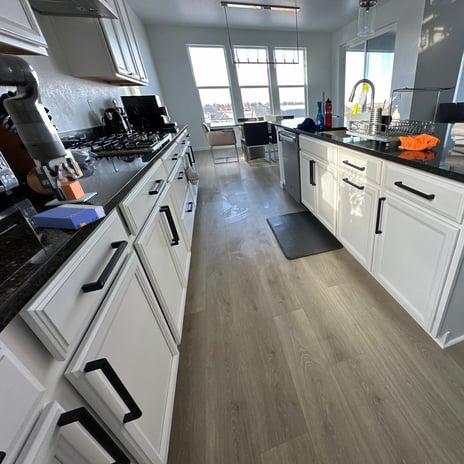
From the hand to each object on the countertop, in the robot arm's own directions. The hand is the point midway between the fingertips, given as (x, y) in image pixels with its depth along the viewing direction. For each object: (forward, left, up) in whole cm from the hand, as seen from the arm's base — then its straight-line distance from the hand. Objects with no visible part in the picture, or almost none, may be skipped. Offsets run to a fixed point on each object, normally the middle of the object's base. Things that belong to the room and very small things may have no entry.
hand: (71, 196), depth 77 cm
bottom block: (-16, +32, -1) cm, 36 cm away
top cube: (0, 0, -1) cm, 1 cm away
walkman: (+5, -18, 0) cm, 18 cm away
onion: (-10, +10, -1) cm, 14 cm away
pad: (0, 0, -1) cm, 1 cm away
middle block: (-16, +32, +5) cm, 36 cm away
